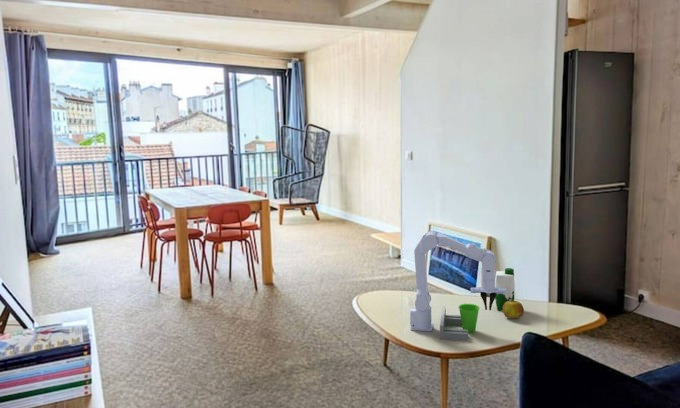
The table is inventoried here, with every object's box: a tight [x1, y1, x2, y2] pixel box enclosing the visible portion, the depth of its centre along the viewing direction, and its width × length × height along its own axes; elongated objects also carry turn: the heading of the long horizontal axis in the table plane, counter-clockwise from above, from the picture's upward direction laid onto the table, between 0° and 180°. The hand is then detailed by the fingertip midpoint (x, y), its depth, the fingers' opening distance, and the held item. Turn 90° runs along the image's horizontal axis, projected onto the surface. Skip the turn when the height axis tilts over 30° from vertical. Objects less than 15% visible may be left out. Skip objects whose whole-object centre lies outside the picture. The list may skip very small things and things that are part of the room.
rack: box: [439, 306, 469, 342], centre depth 218 cm, size 12×21×7 cm, turn 166°
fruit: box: [502, 300, 525, 319], centre depth 230 cm, size 10×9×8 cm
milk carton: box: [494, 267, 515, 312], centre depth 241 cm, size 9×9×20 cm
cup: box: [457, 303, 480, 334], centre depth 216 cm, size 9×9×11 cm
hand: (488, 309), depth 214 cm, fingers closed
